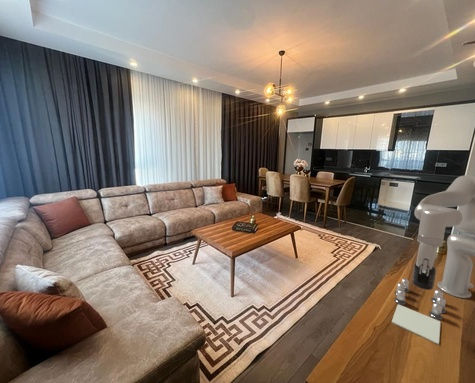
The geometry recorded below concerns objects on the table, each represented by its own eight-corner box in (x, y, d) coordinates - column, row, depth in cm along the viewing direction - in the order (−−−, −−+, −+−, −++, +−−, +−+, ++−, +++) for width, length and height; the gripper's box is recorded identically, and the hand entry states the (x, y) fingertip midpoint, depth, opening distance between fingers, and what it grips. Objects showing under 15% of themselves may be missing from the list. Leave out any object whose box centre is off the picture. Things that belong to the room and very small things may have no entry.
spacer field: (397, 285, 115) (398, 275, 114) (446, 303, 101) (448, 292, 100) (391, 300, 103) (392, 290, 102) (445, 323, 89) (447, 311, 88)
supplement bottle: (427, 282, 89) (432, 256, 86) (436, 292, 82) (441, 264, 80) (408, 279, 91) (412, 254, 89) (416, 288, 84) (420, 262, 82)
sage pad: (397, 305, 100) (397, 304, 100) (440, 322, 90) (440, 321, 89) (391, 322, 90) (391, 321, 90) (438, 344, 79) (438, 343, 79)
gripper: (419, 231, 91) (414, 267, 95) (415, 243, 79) (408, 284, 83) (443, 235, 86) (436, 274, 89) (442, 249, 74) (434, 293, 77)
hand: (423, 278), depth 86 cm, fingers closed on supplement bottle, 6 cm apart
